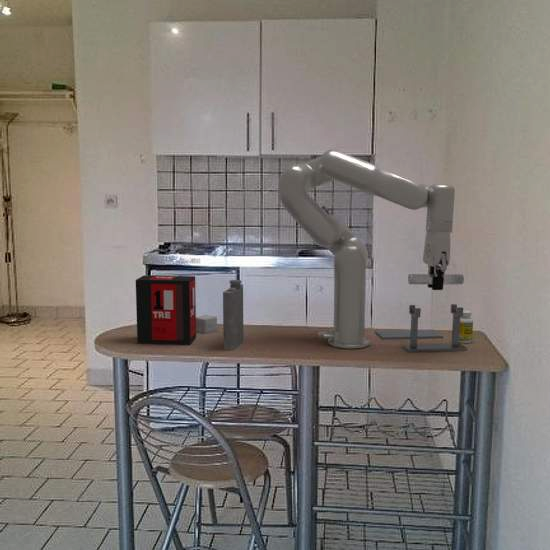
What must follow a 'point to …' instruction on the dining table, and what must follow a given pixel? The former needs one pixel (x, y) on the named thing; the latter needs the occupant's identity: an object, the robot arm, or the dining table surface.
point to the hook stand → (452, 346)
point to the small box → (206, 324)
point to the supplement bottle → (466, 327)
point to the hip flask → (233, 316)
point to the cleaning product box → (166, 310)
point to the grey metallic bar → (429, 278)
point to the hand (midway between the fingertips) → (435, 288)
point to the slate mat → (407, 334)
